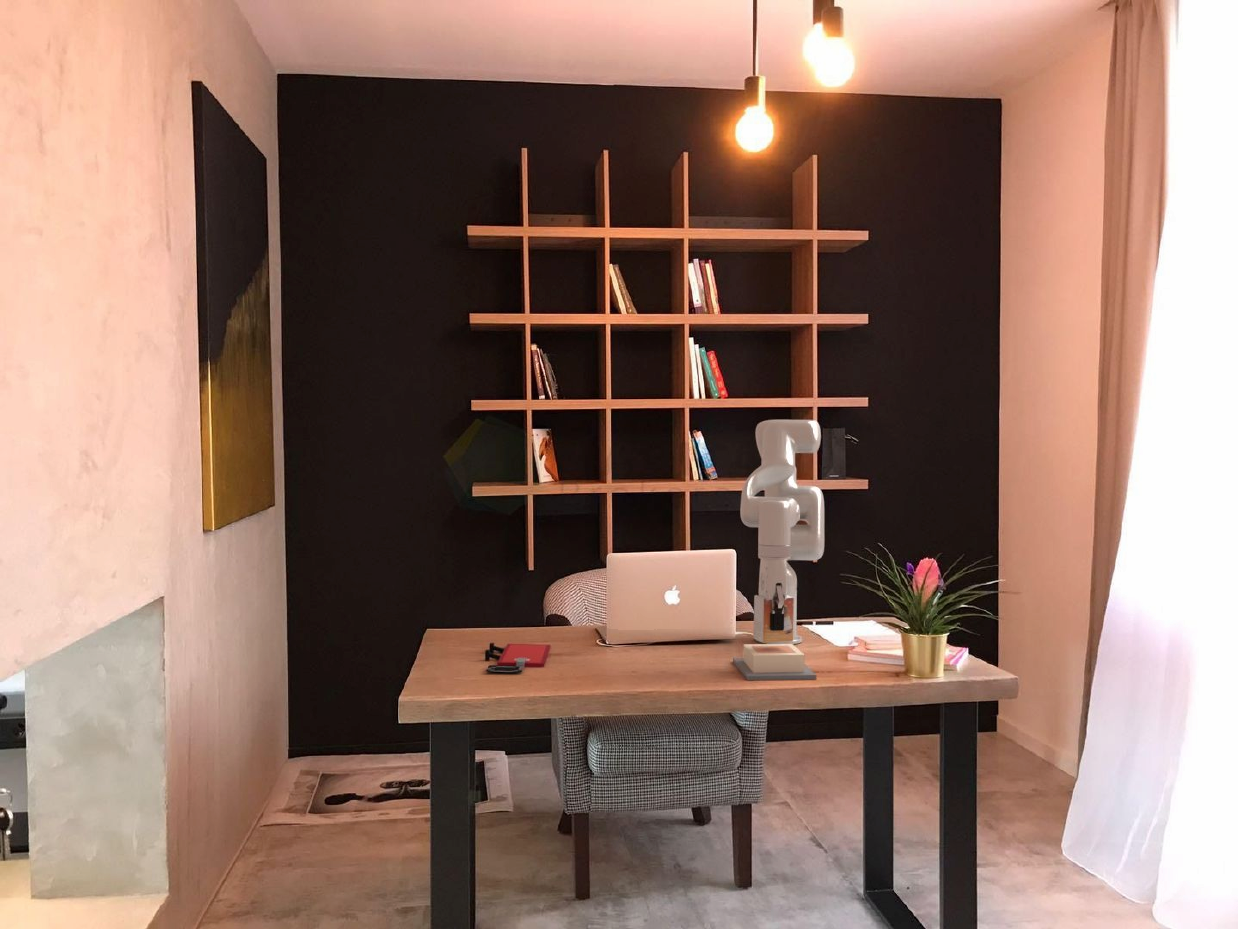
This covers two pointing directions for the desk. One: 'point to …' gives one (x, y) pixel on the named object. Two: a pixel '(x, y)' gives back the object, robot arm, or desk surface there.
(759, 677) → the build board
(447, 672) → the desk surface
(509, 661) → the red board with handle
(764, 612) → the small box
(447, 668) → the desk surface
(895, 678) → the desk surface
